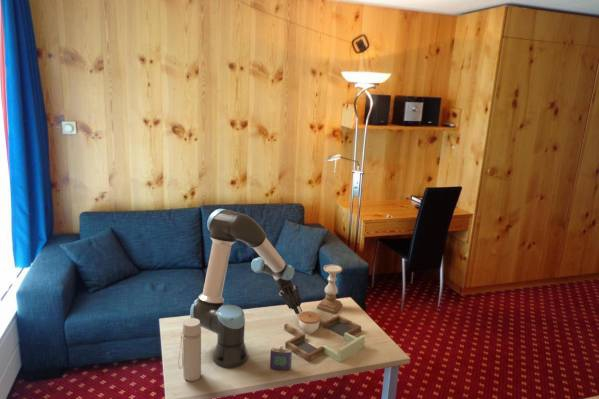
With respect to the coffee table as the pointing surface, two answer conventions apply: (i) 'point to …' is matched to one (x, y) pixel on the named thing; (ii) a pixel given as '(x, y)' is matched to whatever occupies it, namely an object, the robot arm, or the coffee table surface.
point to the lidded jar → (309, 321)
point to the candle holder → (331, 291)
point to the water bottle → (191, 349)
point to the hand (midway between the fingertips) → (302, 318)
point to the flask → (280, 359)
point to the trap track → (311, 352)
